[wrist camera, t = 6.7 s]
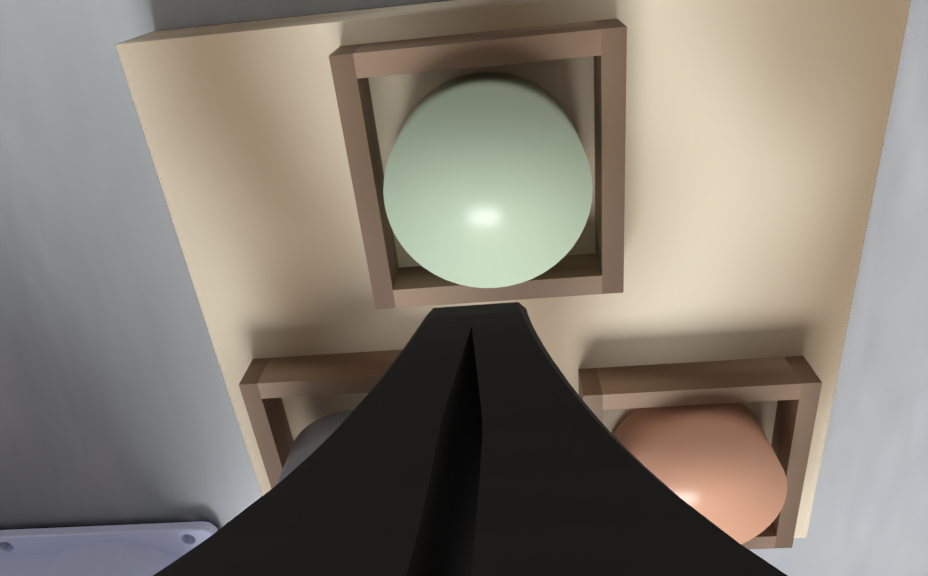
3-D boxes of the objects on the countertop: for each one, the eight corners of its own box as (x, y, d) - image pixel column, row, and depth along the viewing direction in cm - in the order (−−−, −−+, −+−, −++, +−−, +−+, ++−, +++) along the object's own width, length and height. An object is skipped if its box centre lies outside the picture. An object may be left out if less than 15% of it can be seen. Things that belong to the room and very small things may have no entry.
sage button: (407, 259, 17) (399, 294, 16) (380, 81, 15) (367, 101, 14) (584, 247, 17) (593, 281, 15) (581, 63, 15) (591, 80, 13)
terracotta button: (608, 509, 21) (617, 557, 19) (608, 395, 19) (619, 438, 17) (755, 503, 21) (777, 552, 19) (771, 385, 19) (798, 429, 17)
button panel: (297, 512, 25) (272, 588, 22) (154, 30, 17) (86, 53, 14) (782, 490, 23) (821, 569, 21) (870, -44, 16) (953, -35, 13)
